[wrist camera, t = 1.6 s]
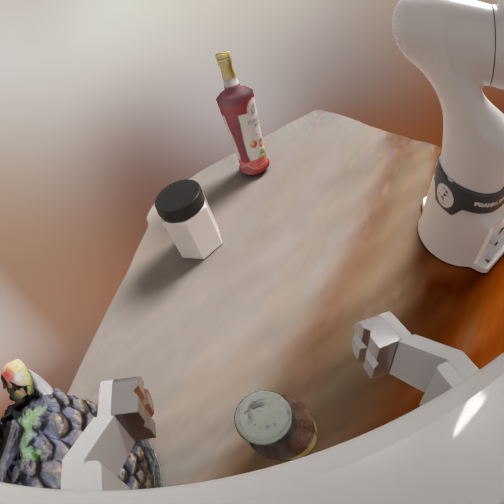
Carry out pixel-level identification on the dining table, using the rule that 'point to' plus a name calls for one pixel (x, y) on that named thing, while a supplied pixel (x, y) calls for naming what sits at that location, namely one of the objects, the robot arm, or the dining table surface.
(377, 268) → the dining table surface
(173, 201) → the jar
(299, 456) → the sauce bottle
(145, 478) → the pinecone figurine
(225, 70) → the liquor
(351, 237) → the dining table surface
